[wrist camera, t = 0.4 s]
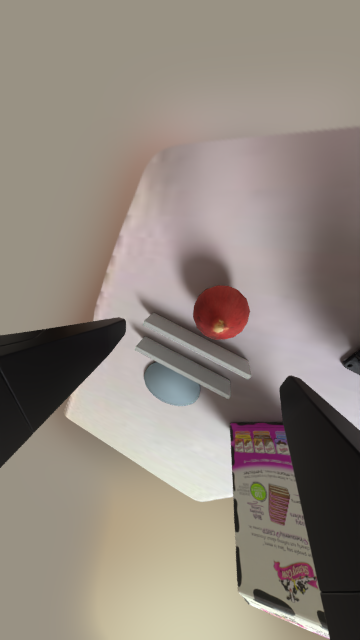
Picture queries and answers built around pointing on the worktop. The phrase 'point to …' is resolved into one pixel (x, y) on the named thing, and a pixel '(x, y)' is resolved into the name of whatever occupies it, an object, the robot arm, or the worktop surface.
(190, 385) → the mat
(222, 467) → the worktop surface
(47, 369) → the robot arm
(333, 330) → the worktop surface
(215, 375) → the low walls
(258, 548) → the candy bar box
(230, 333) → the onion
